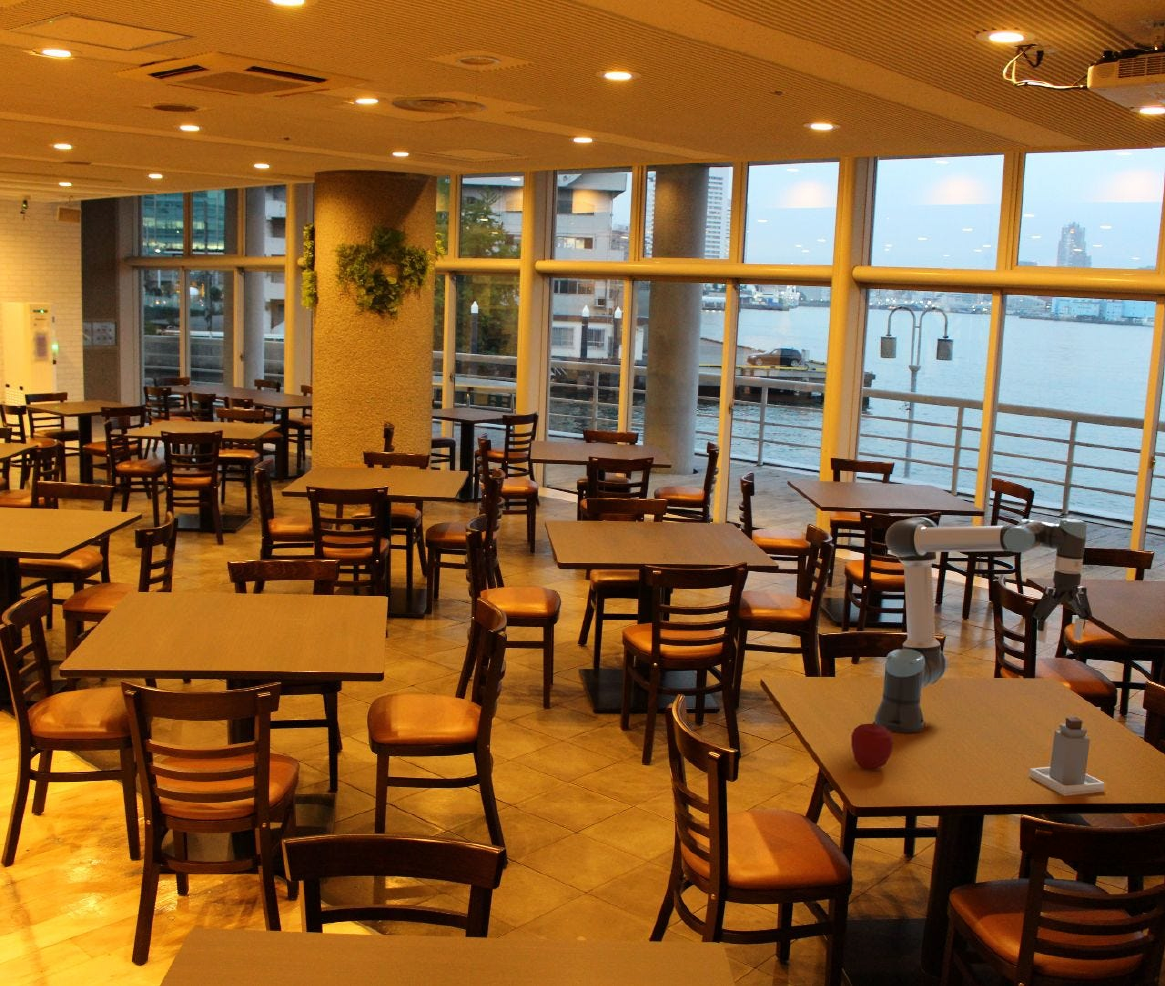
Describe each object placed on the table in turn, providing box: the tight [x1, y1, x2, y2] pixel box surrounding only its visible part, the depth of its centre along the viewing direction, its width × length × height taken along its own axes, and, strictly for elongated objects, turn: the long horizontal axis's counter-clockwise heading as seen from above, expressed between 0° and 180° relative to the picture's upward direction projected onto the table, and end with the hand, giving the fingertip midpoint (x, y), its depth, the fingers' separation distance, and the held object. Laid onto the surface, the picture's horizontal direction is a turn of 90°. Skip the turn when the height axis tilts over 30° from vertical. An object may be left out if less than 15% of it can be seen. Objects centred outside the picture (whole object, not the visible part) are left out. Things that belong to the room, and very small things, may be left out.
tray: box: [1029, 766, 1106, 796], centre depth 349 cm, size 14×14×2 cm
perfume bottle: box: [1049, 716, 1091, 785], centre depth 348 cm, size 7×7×18 cm
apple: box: [850, 722, 894, 771], centre depth 351 cm, size 12×12×13 cm
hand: (1059, 640), depth 370 cm, fingers open, 13 cm apart
